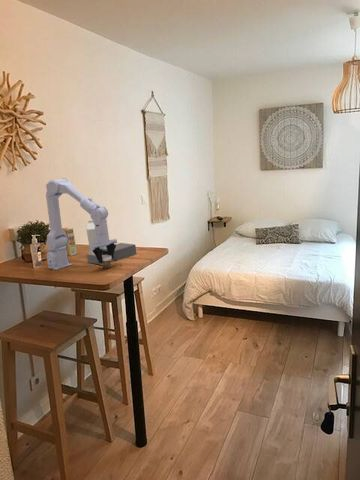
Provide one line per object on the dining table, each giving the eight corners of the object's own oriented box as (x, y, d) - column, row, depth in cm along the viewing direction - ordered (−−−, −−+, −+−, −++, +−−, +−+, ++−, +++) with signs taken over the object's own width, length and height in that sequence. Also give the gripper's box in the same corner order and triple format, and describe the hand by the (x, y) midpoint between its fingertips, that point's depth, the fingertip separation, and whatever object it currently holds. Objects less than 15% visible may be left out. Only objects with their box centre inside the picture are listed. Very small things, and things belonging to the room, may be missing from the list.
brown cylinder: (106, 269, 180) (104, 261, 179) (101, 268, 183) (99, 260, 182) (112, 267, 183) (111, 259, 182) (107, 266, 185) (106, 258, 185)
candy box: (77, 254, 217) (73, 227, 214) (70, 256, 214) (66, 229, 211) (70, 252, 223) (65, 226, 220) (63, 254, 220) (59, 228, 217)
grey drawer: (101, 264, 188) (100, 256, 187) (87, 262, 196) (86, 254, 195) (124, 257, 198) (123, 249, 197) (109, 255, 206) (108, 247, 205)
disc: (104, 261, 178) (104, 258, 178) (97, 260, 182) (97, 257, 181) (114, 258, 182) (113, 255, 182) (106, 257, 186) (106, 254, 185)
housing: (115, 260, 194) (114, 250, 193) (101, 258, 202) (100, 248, 201) (136, 254, 204) (135, 244, 203) (122, 251, 212) (120, 242, 211)
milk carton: (102, 255, 207) (97, 221, 203) (90, 256, 209) (85, 222, 205) (107, 252, 214) (102, 219, 210) (95, 253, 216) (90, 219, 212)
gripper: (94, 237, 171) (98, 266, 174) (119, 230, 182) (123, 258, 184) (85, 236, 176) (89, 264, 179) (110, 229, 186) (114, 256, 189)
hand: (106, 261), depth 182 cm, fingers closed on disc, 6 cm apart
